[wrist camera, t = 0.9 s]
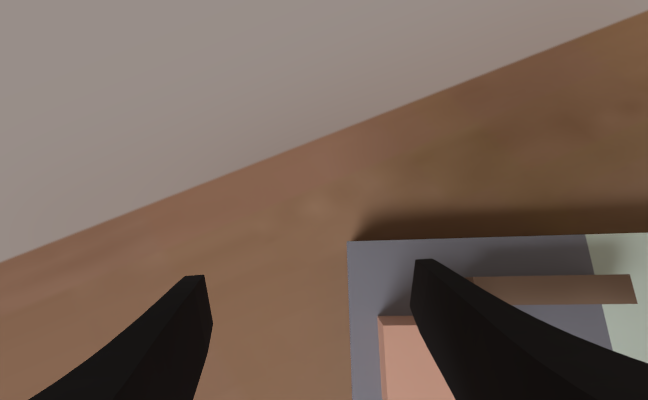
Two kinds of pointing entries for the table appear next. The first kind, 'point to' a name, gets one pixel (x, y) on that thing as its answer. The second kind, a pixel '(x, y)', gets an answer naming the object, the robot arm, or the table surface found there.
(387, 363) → the terracotta block
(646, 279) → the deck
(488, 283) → the tunnel walls
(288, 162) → the table surface
